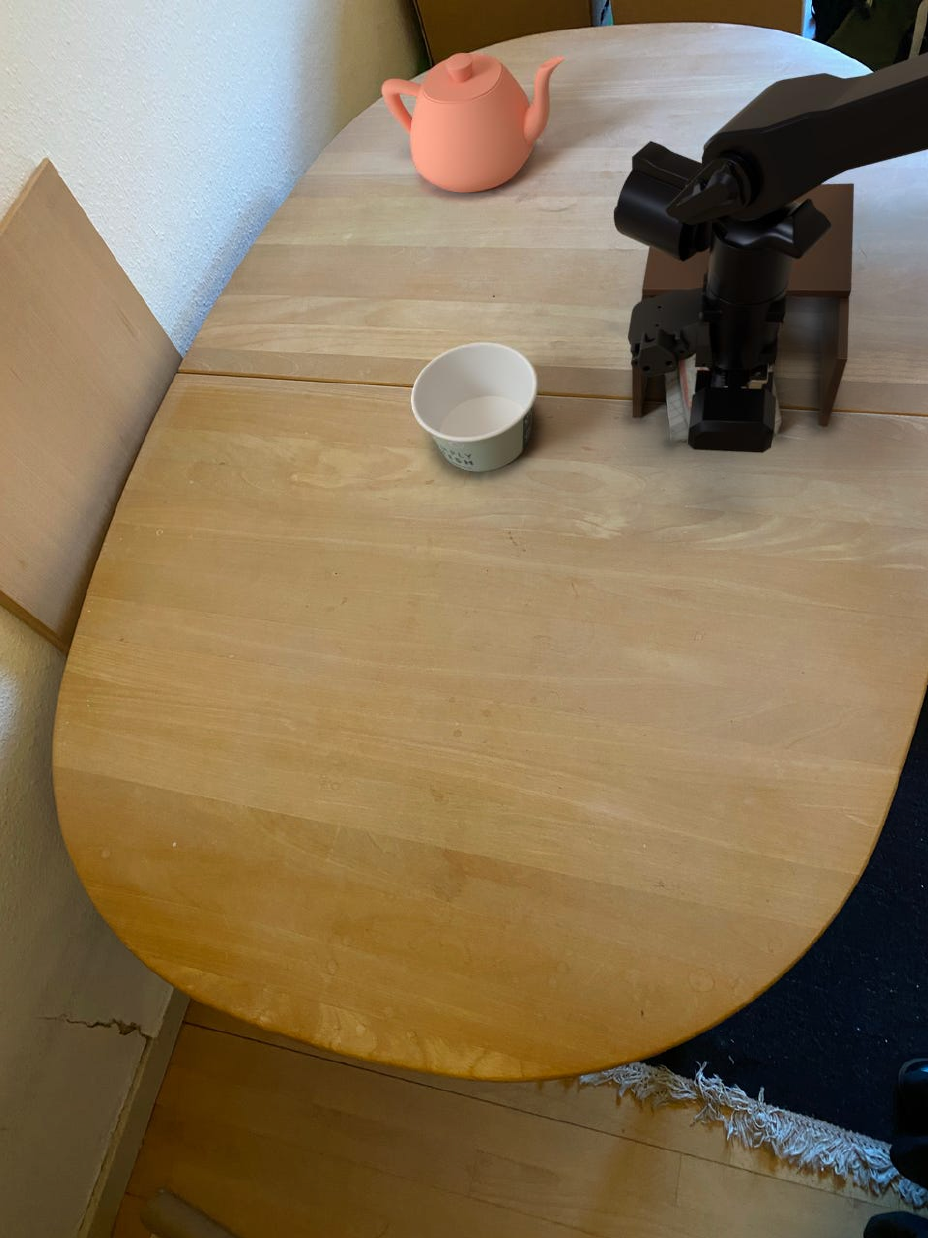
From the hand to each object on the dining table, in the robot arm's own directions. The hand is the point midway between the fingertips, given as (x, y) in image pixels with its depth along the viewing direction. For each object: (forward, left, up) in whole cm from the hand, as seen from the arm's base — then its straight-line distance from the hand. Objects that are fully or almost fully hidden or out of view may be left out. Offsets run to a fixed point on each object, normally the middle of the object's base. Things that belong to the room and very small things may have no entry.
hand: (727, 422), depth 74 cm
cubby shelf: (0, -13, -3) cm, 13 cm away
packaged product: (+1, -9, -4) cm, 10 cm away
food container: (+23, 0, -4) cm, 23 cm away
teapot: (+32, -42, -4) cm, 53 cm away
